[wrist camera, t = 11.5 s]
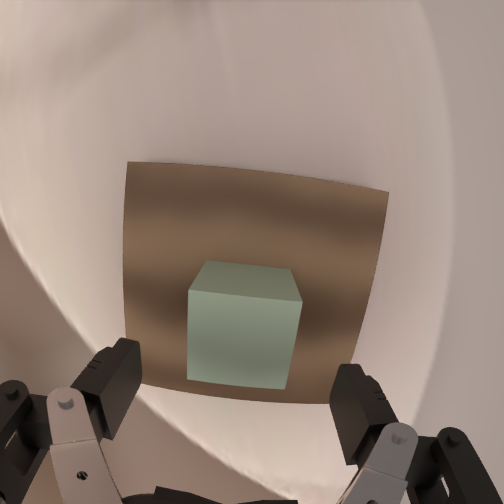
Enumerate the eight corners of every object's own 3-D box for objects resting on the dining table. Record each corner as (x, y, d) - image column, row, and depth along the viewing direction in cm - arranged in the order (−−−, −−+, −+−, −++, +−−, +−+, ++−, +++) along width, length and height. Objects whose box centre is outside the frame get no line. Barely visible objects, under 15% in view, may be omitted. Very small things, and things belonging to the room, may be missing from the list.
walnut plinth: (144, 164, 19) (127, 161, 16) (371, 190, 19) (389, 192, 16) (143, 360, 23) (131, 380, 20) (328, 381, 23) (335, 403, 20)
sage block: (206, 260, 17) (188, 289, 13) (290, 268, 18) (302, 302, 13) (202, 333, 19) (187, 379, 14) (278, 341, 19) (284, 389, 14)
